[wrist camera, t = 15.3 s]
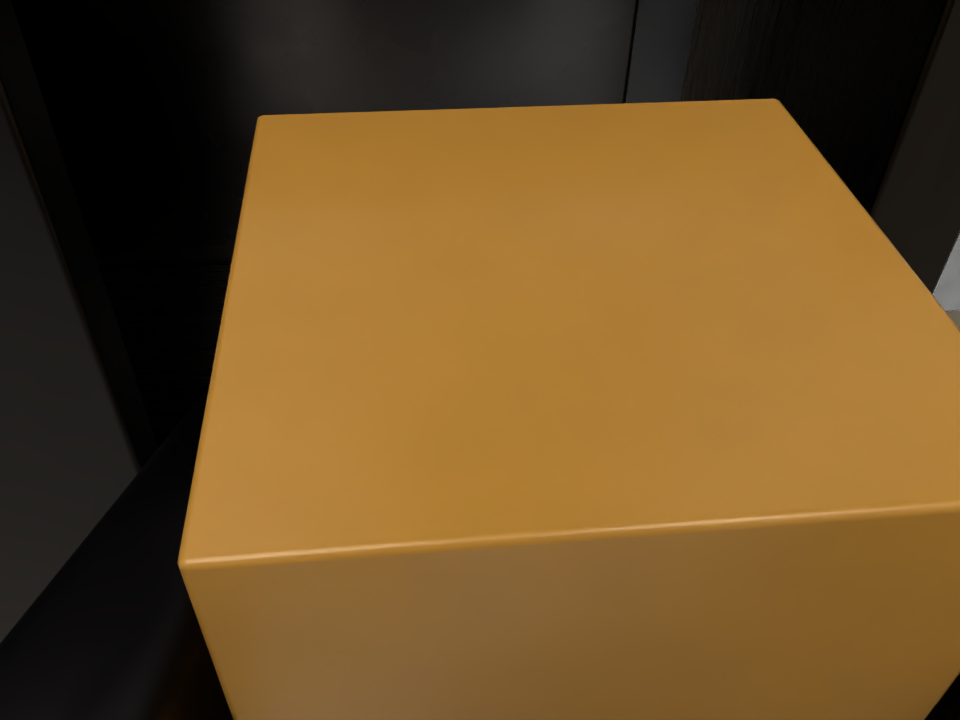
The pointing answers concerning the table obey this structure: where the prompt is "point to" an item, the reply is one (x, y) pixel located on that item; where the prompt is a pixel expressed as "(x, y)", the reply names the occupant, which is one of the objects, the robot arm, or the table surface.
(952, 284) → the table surface
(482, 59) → the black drawer
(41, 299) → the drawer cabinet
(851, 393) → the brass block
